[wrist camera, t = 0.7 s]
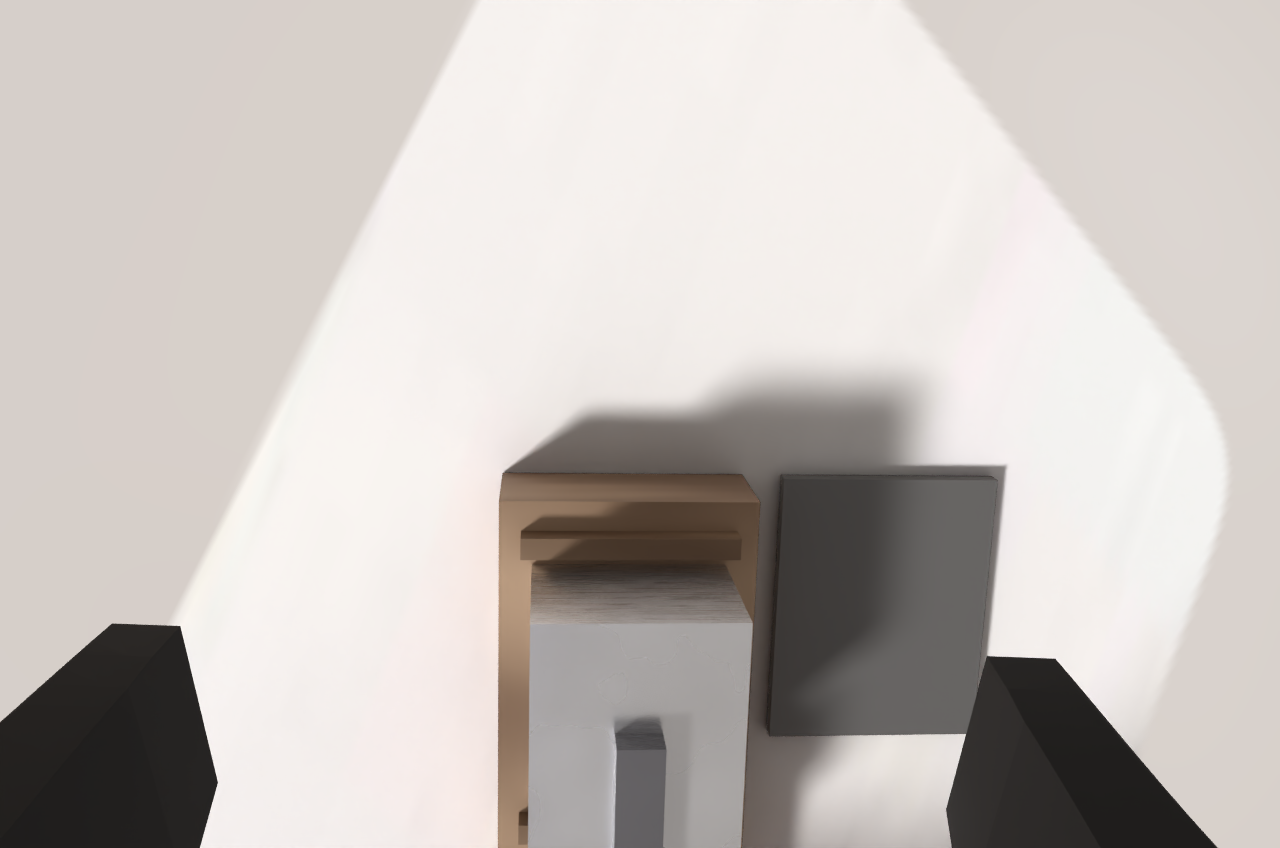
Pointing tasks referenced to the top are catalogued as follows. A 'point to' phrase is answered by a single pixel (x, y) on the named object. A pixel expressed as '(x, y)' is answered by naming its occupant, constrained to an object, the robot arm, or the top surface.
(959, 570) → the rubber mat
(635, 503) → the body
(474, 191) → the top surface
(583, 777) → the lever cap
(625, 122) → the top surface
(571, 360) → the top surface
